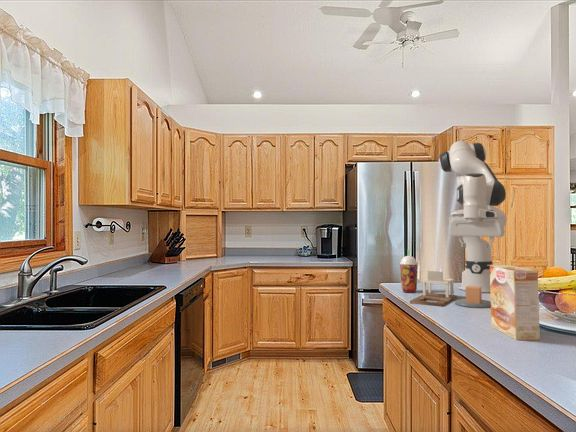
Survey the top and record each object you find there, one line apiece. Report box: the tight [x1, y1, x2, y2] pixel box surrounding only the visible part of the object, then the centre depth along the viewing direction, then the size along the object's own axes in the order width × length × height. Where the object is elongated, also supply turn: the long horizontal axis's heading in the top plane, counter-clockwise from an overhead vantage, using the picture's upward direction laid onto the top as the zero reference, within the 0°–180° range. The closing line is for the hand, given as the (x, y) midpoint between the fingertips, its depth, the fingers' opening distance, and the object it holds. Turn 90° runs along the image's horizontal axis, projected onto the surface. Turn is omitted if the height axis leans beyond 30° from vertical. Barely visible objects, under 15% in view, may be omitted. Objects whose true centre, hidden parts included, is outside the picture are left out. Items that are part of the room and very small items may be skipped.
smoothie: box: [399, 249, 419, 294], centre depth 196 cm, size 8×8×20 cm
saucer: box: [454, 298, 491, 309], centre depth 164 cm, size 14×14×1 cm
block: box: [465, 286, 483, 304], centre depth 164 cm, size 5×5×6 cm
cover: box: [421, 270, 455, 297], centre depth 179 cm, size 9×11×11 cm
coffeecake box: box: [490, 264, 541, 341], centre depth 122 cm, size 15×7×20 cm, turn 178°
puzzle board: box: [409, 292, 457, 307], centre depth 174 cm, size 22×13×1 cm, turn 144°
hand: (476, 248), depth 164 cm, fingers open, 8 cm apart
